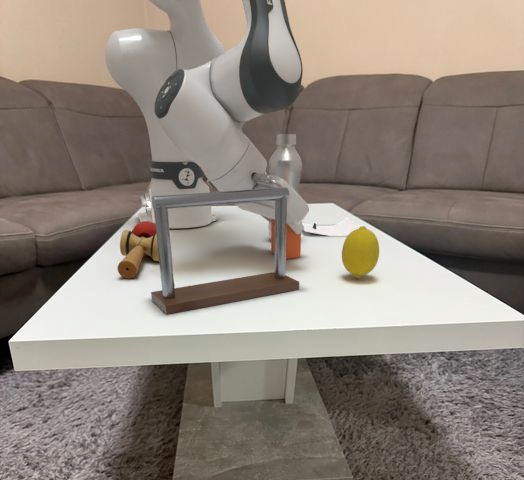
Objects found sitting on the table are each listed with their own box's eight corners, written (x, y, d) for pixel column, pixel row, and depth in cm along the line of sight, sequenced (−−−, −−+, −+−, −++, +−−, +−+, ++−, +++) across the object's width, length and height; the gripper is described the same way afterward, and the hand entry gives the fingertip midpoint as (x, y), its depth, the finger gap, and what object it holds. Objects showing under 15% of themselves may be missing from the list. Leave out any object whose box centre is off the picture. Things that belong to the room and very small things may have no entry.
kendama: (159, 286, 71) (176, 244, 86) (146, 248, 68) (166, 211, 83) (112, 294, 72) (136, 251, 87) (97, 257, 68) (125, 219, 83)
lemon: (354, 285, 68) (359, 231, 64) (333, 276, 72) (336, 224, 68) (383, 280, 70) (390, 227, 66) (360, 271, 74) (365, 221, 71)
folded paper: (296, 226, 109) (296, 217, 108) (345, 225, 110) (346, 216, 109) (305, 236, 98) (305, 227, 97) (360, 235, 99) (361, 226, 98)
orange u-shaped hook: (271, 252, 85) (271, 201, 81) (284, 250, 87) (285, 200, 83) (286, 259, 81) (287, 205, 77) (300, 257, 83) (302, 204, 79)
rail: (151, 300, 62) (139, 193, 56) (277, 278, 71) (279, 184, 65) (166, 314, 57) (155, 199, 51) (299, 289, 66) (303, 189, 60)
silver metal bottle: (298, 245, 91) (302, 134, 82) (265, 243, 92) (265, 134, 84) (302, 238, 97) (306, 134, 88) (270, 236, 98) (271, 133, 89)
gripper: (286, 160, 65) (335, 223, 74) (224, 153, 81) (271, 206, 90) (259, 194, 65) (311, 253, 74) (203, 181, 81) (251, 231, 90)
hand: (288, 227), depth 82 cm, fingers closed on orange u-shaped hook, 5 cm apart
